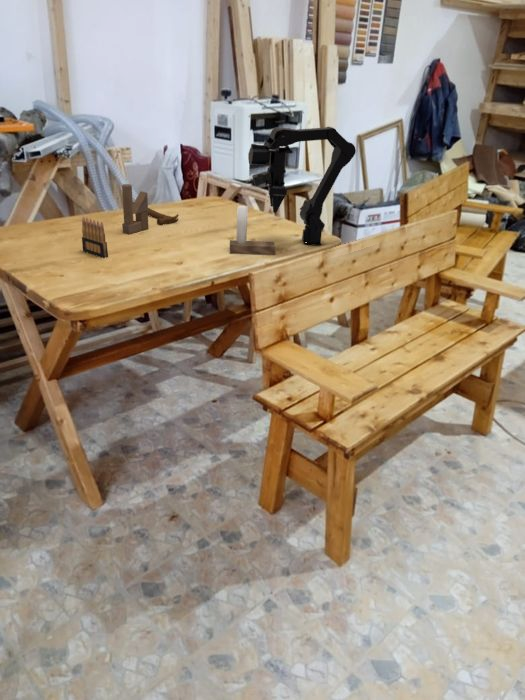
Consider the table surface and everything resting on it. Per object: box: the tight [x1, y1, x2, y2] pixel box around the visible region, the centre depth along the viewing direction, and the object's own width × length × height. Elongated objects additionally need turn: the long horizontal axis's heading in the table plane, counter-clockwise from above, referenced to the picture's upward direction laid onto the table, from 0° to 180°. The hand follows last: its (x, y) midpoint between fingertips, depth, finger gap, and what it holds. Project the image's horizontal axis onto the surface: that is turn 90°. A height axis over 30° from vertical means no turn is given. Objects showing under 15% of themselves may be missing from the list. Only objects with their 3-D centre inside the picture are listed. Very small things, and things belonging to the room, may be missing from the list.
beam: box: [229, 239, 276, 256], centre depth 202 cm, size 16×6×3 cm, turn 94°
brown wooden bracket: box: [121, 183, 149, 235], centre depth 213 cm, size 4×11×18 cm, turn 147°
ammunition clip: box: [81, 216, 109, 259], centre depth 188 cm, size 11×2×12 cm, turn 56°
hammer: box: [133, 201, 179, 226], centre depth 239 cm, size 12×3×30 cm
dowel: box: [235, 205, 249, 245], centre depth 198 cm, size 4×4×13 cm
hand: (273, 209), depth 206 cm, fingers open, 9 cm apart
